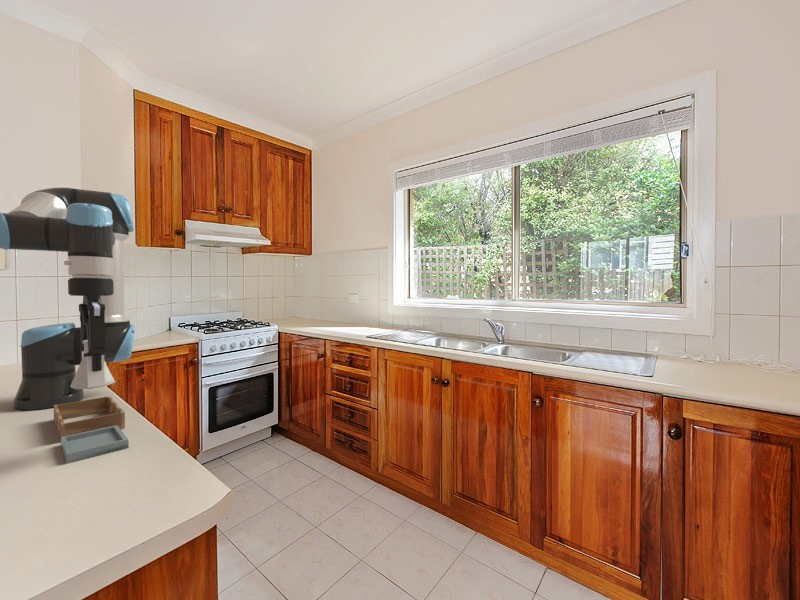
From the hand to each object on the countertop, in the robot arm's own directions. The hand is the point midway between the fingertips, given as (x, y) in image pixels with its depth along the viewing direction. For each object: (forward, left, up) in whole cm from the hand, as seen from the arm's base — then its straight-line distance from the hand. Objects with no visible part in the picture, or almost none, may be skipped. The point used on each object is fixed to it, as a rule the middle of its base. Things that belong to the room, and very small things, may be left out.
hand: (93, 382), depth 80 cm
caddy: (-18, -2, -14) cm, 23 cm away
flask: (0, 0, -1) cm, 1 cm away
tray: (0, 0, -14) cm, 14 cm away
